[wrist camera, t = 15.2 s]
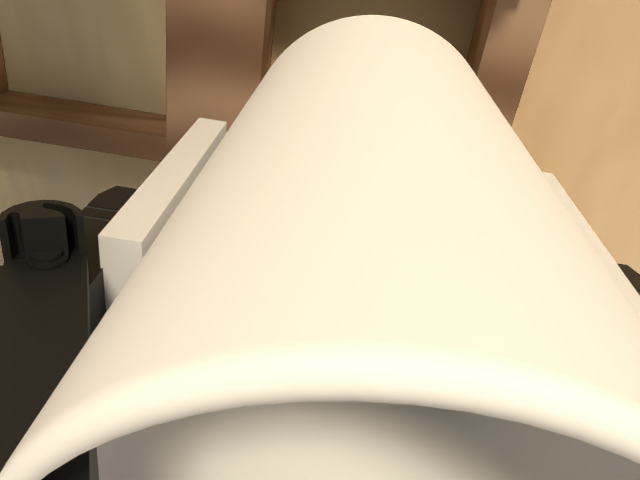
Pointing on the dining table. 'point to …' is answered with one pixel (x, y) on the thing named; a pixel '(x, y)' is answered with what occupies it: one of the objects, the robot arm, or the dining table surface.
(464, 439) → the cup
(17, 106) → the board
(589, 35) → the dining table surface
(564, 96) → the dining table surface
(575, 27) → the dining table surface
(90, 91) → the dining table surface
